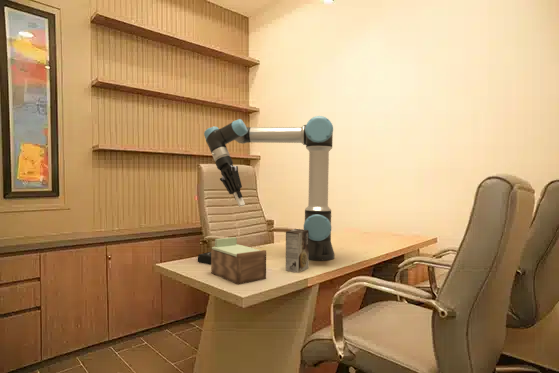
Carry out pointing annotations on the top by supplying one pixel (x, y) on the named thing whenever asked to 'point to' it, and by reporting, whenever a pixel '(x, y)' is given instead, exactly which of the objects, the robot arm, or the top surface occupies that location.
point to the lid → (231, 246)
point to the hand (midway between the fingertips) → (242, 205)
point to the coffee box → (297, 250)
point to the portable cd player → (205, 258)
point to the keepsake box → (239, 266)
